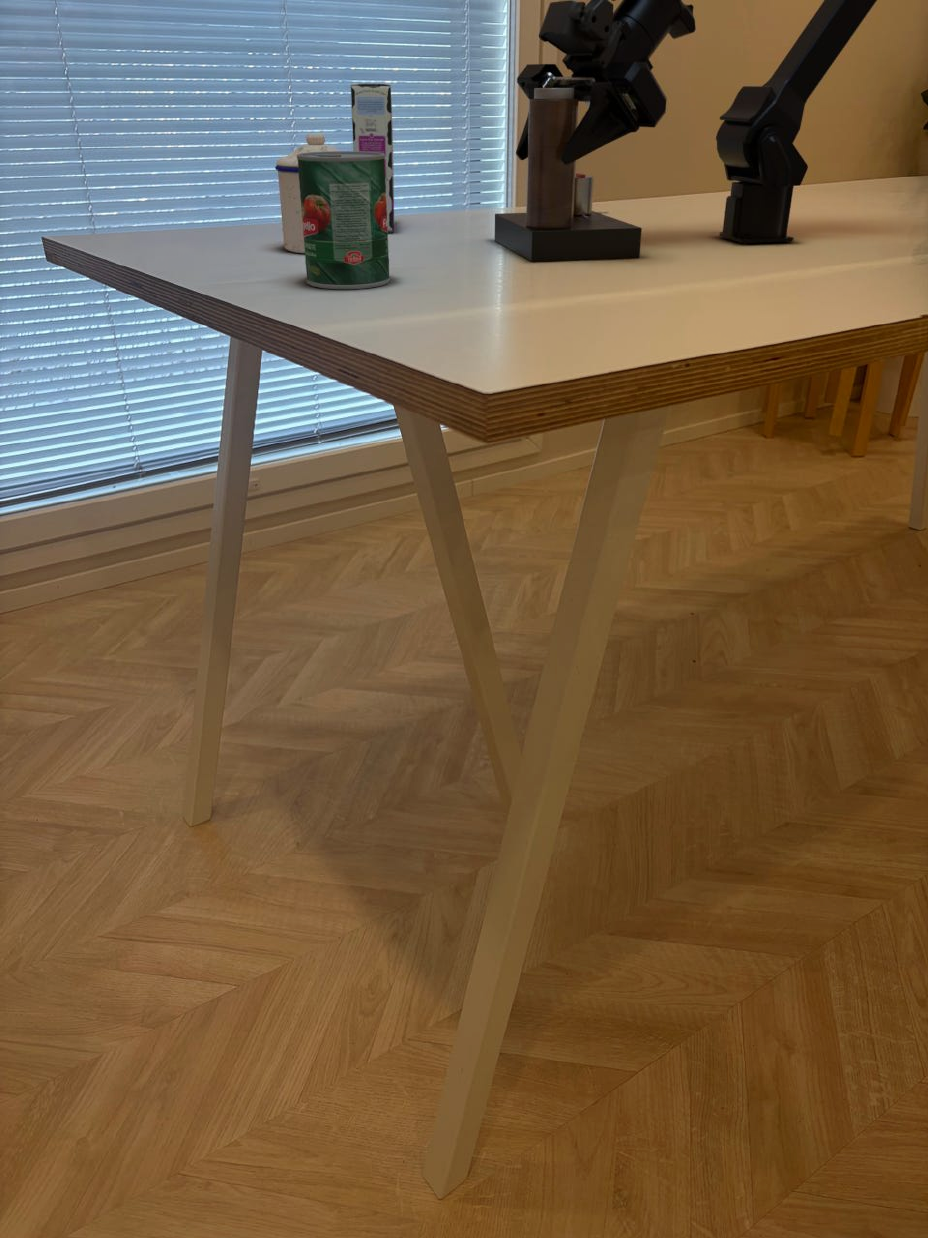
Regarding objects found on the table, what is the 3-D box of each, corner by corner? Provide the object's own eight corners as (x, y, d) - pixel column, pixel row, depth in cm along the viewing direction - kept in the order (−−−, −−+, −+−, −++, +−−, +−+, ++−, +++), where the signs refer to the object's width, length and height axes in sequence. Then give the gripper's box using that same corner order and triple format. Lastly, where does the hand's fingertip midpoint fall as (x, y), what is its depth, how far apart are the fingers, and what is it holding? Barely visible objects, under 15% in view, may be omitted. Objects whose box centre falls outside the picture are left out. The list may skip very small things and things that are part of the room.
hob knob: (556, 212, 116) (558, 172, 114) (585, 211, 117) (587, 171, 115) (566, 215, 113) (567, 174, 111) (596, 214, 114) (598, 174, 112)
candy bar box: (396, 233, 123) (391, 83, 115) (356, 233, 123) (348, 83, 115) (394, 221, 133) (390, 82, 125) (357, 222, 133) (350, 83, 125)
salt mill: (575, 223, 108) (581, 87, 102) (569, 229, 104) (576, 88, 97) (529, 222, 109) (533, 87, 103) (522, 227, 105) (525, 88, 98)
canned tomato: (407, 281, 94) (403, 153, 89) (341, 292, 89) (333, 157, 84) (354, 271, 99) (348, 149, 94) (289, 281, 94) (278, 153, 89)
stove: (595, 235, 121) (597, 207, 119) (647, 257, 106) (650, 225, 105) (492, 239, 118) (492, 211, 117) (531, 261, 104) (532, 229, 102)
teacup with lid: (357, 254, 108) (350, 136, 103) (274, 254, 109) (263, 136, 103) (371, 239, 119) (366, 130, 113) (296, 238, 119) (287, 130, 114)
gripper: (534, -24, 104) (445, 96, 104) (655, -41, 90) (552, 98, 90) (588, 62, 111) (506, 174, 111) (708, 59, 97) (613, 187, 98)
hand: (540, 158), depth 102 cm, fingers open, 7 cm apart
